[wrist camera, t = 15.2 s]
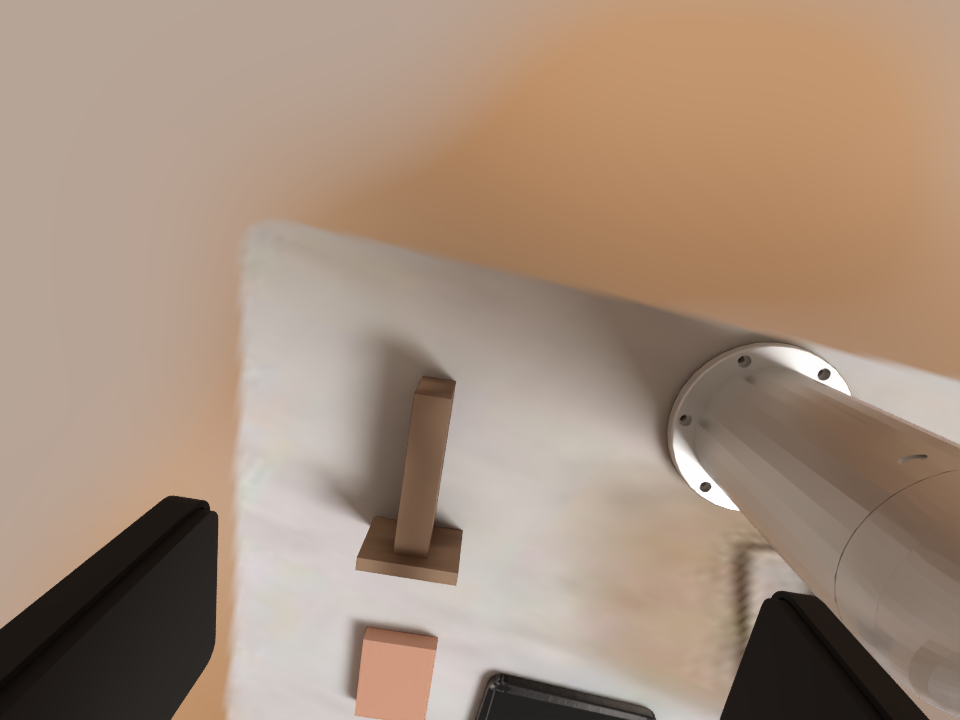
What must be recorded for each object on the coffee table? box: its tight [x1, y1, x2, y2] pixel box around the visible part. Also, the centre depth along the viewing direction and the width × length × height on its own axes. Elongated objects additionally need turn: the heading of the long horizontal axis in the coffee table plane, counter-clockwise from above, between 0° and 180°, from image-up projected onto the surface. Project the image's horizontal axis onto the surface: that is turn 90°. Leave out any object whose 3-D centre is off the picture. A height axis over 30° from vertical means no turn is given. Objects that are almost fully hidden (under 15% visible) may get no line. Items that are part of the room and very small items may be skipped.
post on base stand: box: [356, 376, 463, 586], centre depth 34 cm, size 7×13×5 cm, turn 171°
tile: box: [355, 627, 438, 720], centre depth 41 cm, size 6×2×8 cm
